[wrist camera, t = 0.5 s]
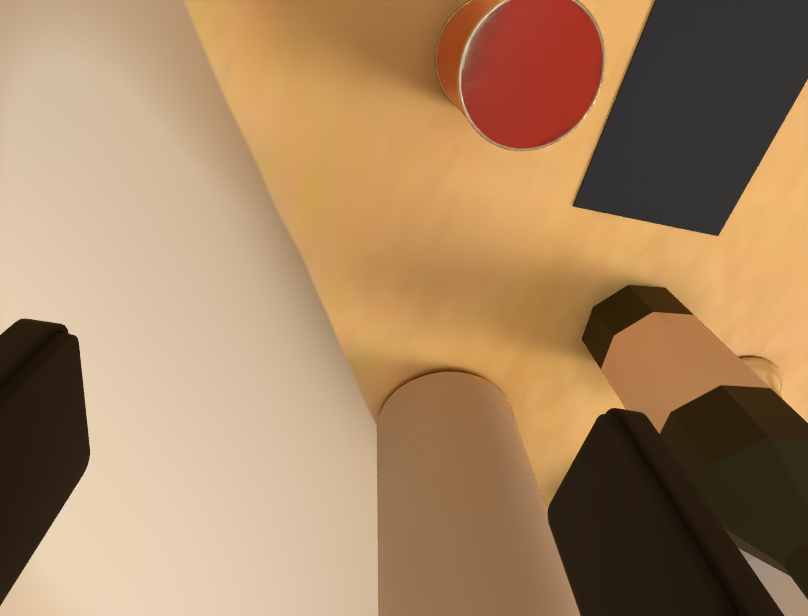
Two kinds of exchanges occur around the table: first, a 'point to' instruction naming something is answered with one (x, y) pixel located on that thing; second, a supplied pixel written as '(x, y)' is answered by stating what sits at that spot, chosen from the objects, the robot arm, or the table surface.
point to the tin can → (521, 68)
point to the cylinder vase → (461, 507)
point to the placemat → (698, 110)
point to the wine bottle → (711, 420)
